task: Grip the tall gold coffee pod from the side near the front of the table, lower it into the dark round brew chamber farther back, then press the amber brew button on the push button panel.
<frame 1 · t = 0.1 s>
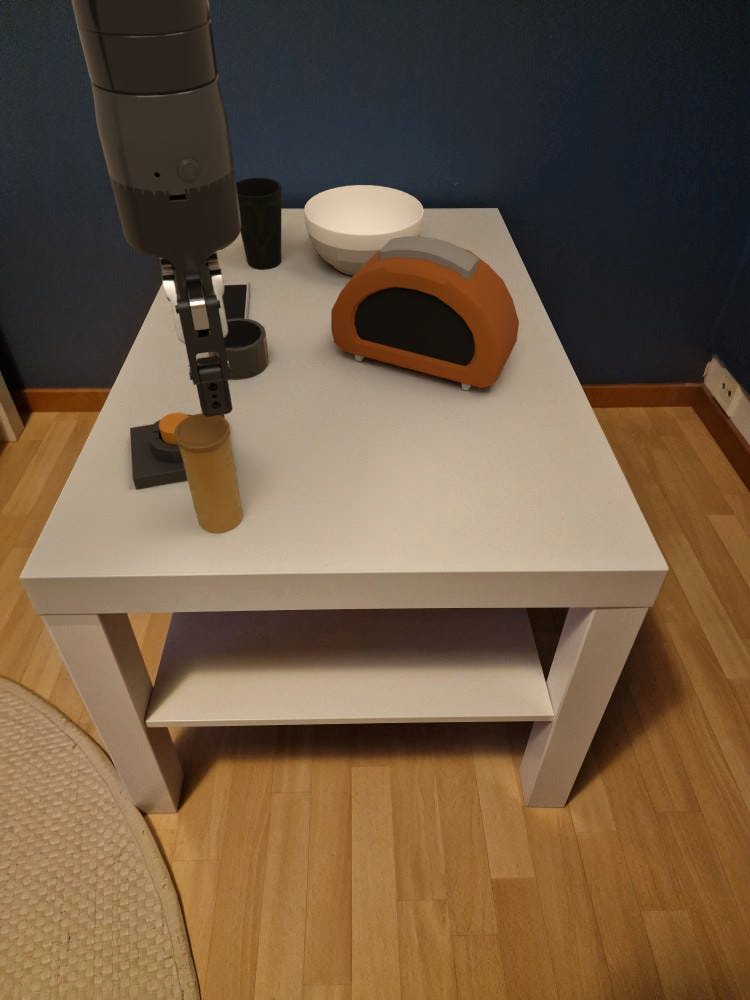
hand: (211, 379, 54), 22 cm above the table, tool pointing down, fingers open, 8 cm apart
push button panel: (183, 454, 80), on the table
pod chamber: (239, 362, 93), on the table
cup: (264, 262, 114), on the table
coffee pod: (220, 516, 73), on the table
alarm clock: (421, 362, 94), on the table
smartphone: (223, 310, 103), on the table
brew button: (176, 428, 77), point 4 cm above the table, slide at 0.1 cm
bowl: (363, 262, 114), on the table
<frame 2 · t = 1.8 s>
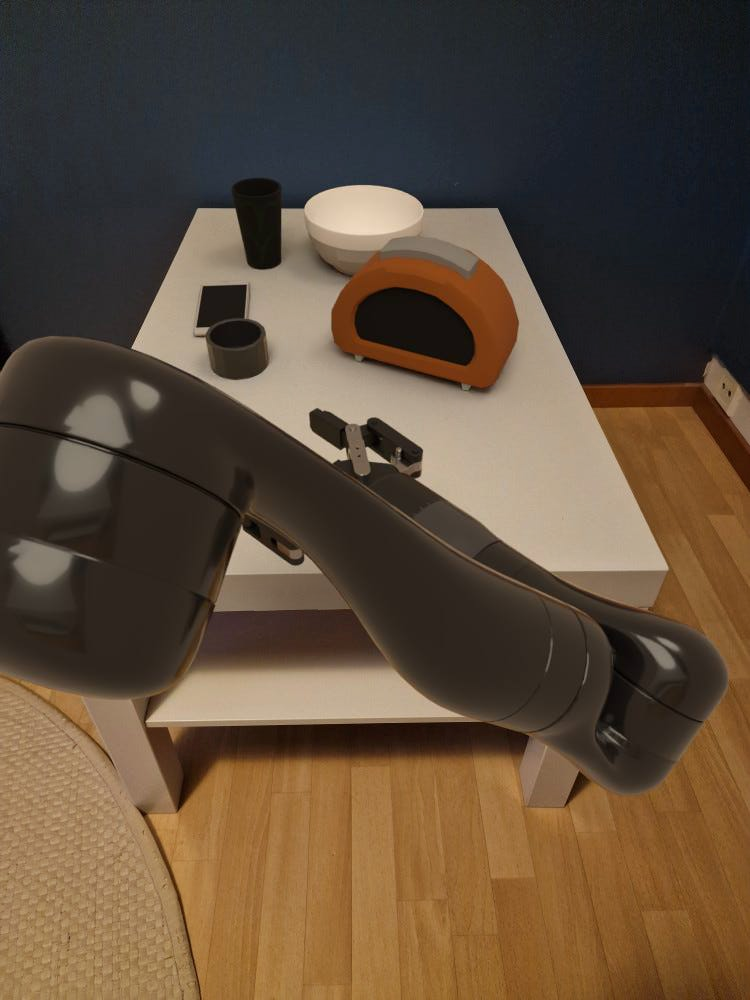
hand: (273, 441, 56), 17 cm above the table, tool horizontal, fingers open, 8 cm apart
nothing on the table moved.
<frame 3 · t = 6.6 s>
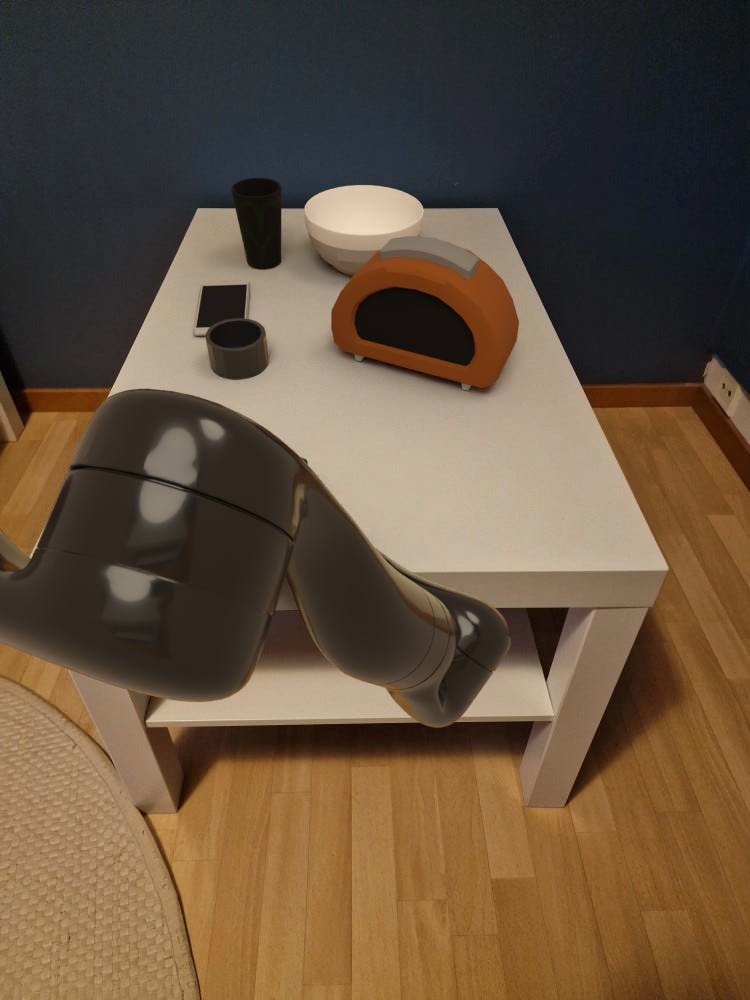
hand: (193, 454, 70), 7 cm above the table, tool horizontal, fingers closed on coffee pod, 4 cm apart
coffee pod: (220, 516, 73), on the table, touching gripper
everything else where it was.
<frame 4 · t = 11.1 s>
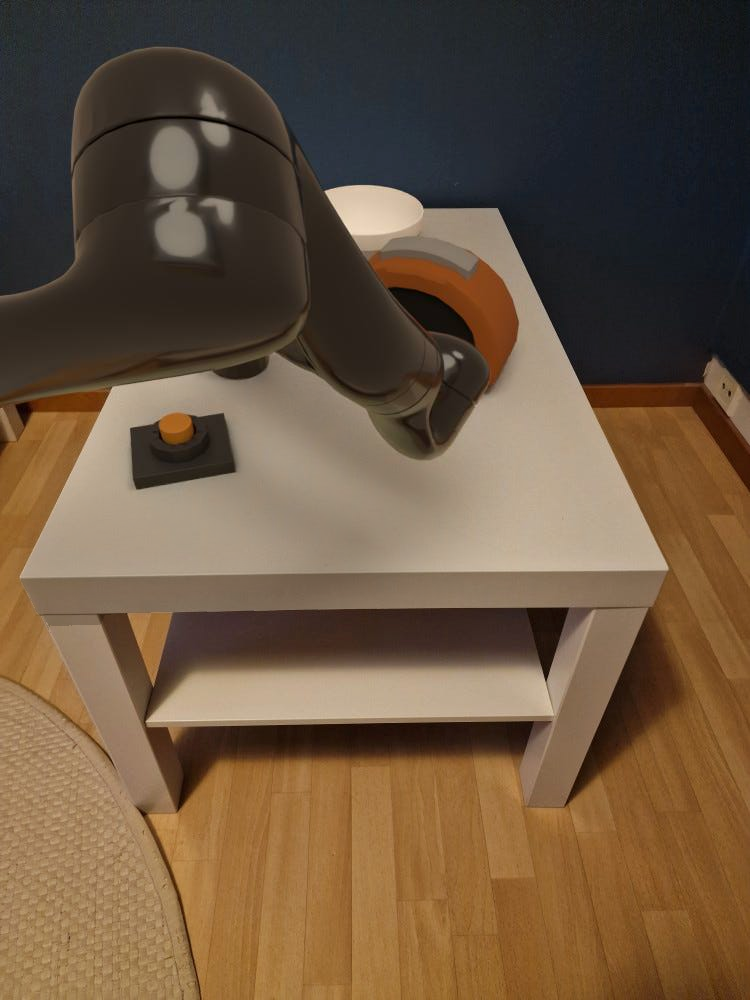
hand: (197, 262, 74), 19 cm above the table, tool horizontal, fingers closed on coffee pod, 4 cm apart
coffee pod: (222, 330, 77), point 12 cm above the table, touching gripper
everything else where it was.
when the fingers open (8 cm above the table, at t = 16.0 s): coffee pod stays where it is, resting on pod chamber.
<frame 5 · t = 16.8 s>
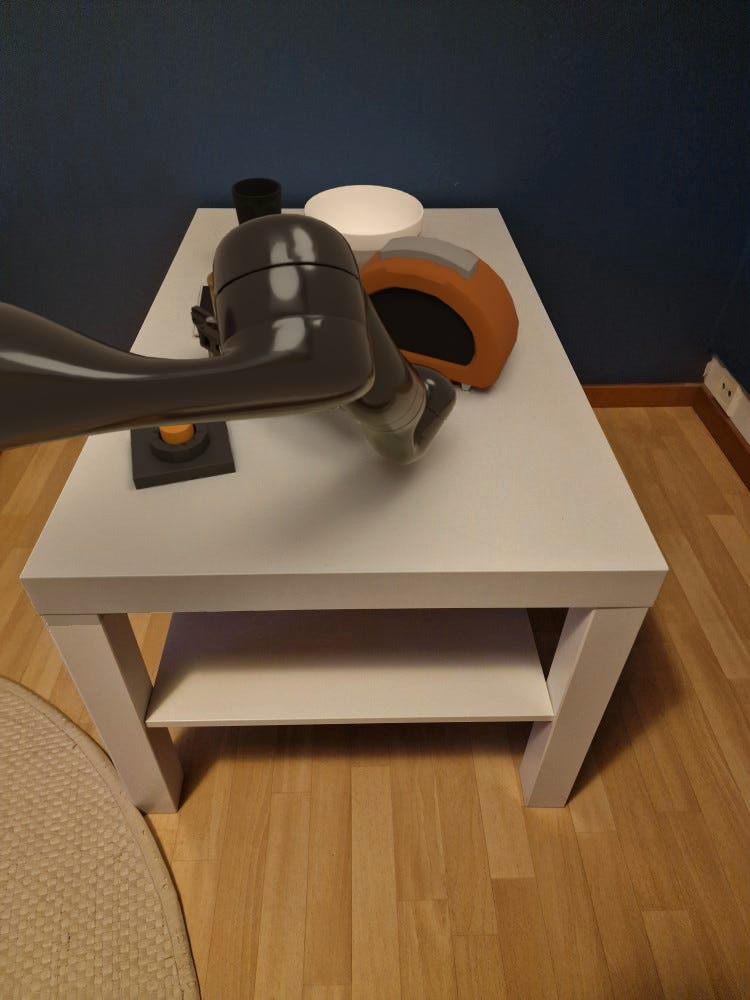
hand: (221, 300, 88), 9 cm above the table, tool horizontal, fingers open, 8 cm apart
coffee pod: (240, 359, 93), resting on pod chamber
everything else where it was.
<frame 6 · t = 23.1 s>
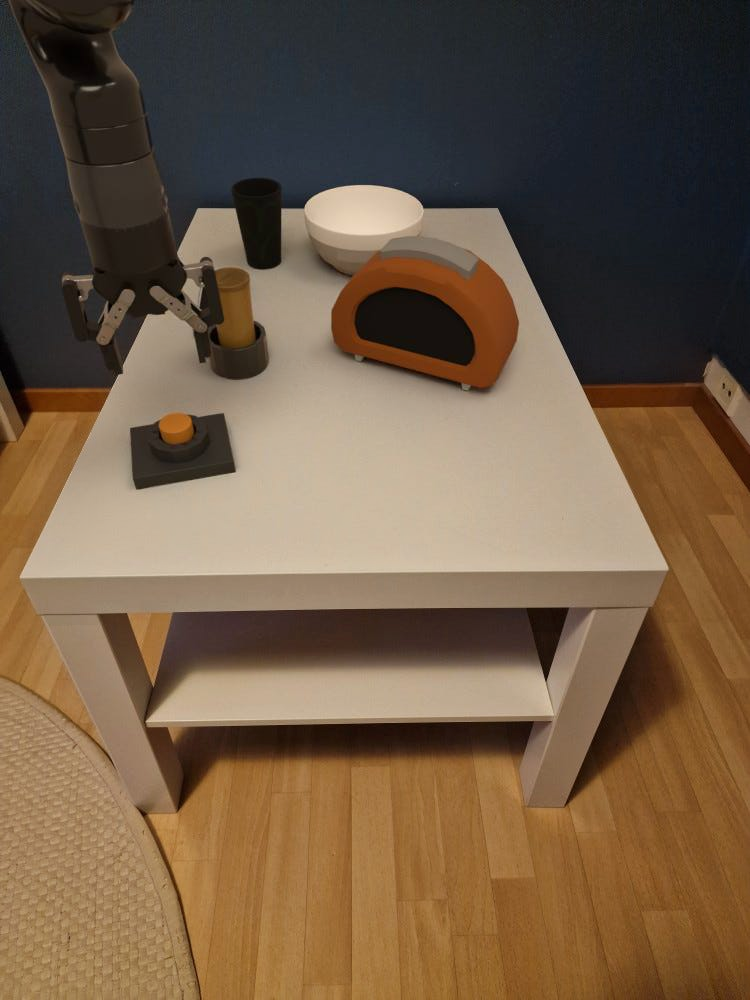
hand: (161, 364, 71), 13 cm above the table, tool pointing down, fingers open, 8 cm apart
nothing on the table moved.
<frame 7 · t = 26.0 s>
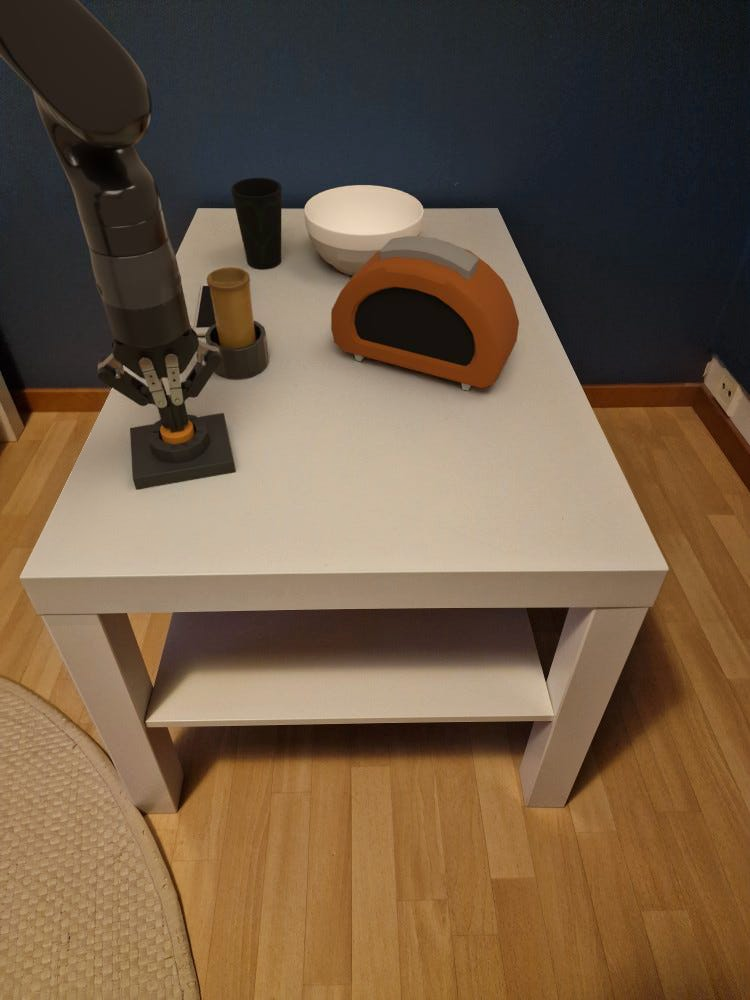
hand: (176, 426, 77), 4 cm above the table, tool pointing down, fingers closed
brew button: (177, 433, 78), point 3 cm above the table, slide at -0.6 cm, touching gripper
everything else where it was.
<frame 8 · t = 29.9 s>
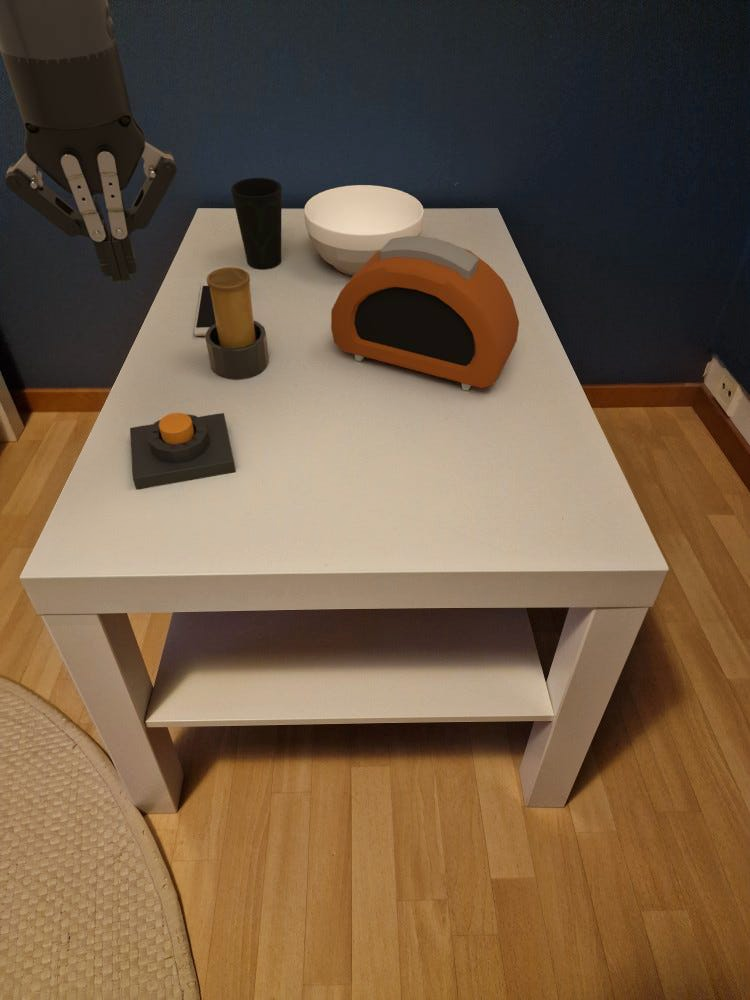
hand: (121, 277, 59), 25 cm above the table, tool pointing down, fingers closed
brew button: (176, 428, 77), point 4 cm above the table, slide at 0.1 cm
everything else where it was.
at the end: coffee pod 0.1 cm off-centre in the pod chamber, point 0.5 cm above the pod chamber's base; brew button pushed in 1.1 cm at the most during the clip, back to where it started at the end; brew button slide at 0.1 cm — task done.
